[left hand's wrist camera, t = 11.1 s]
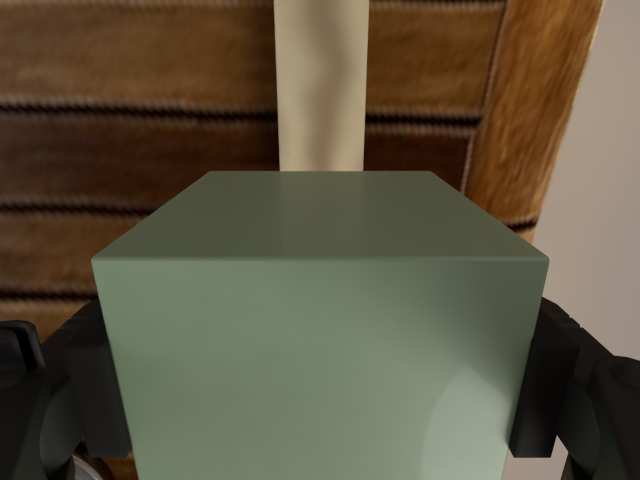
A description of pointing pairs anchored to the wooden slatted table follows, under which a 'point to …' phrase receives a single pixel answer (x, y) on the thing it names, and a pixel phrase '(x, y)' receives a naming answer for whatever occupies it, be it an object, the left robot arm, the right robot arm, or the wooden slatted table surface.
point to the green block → (320, 329)
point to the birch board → (321, 83)
